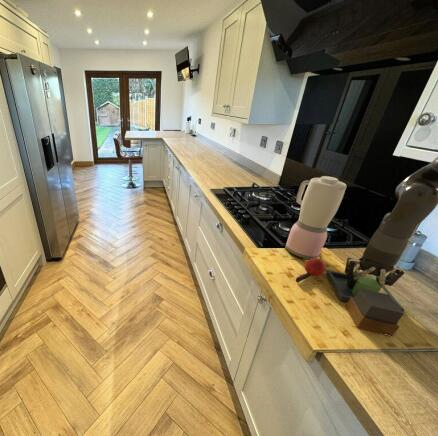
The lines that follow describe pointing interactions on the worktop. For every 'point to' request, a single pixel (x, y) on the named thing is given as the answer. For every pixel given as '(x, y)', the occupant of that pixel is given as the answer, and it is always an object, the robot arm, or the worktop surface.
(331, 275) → the tray
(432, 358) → the worktop surface
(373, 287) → the green block
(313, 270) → the onion
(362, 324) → the walnut block
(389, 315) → the charcoal block
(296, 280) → the kitchen knife
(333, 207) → the blender
